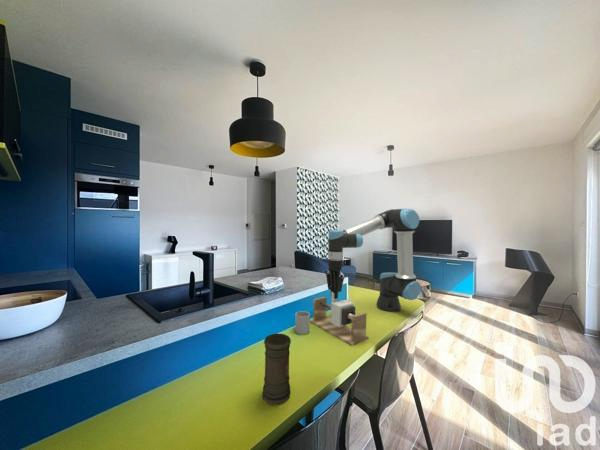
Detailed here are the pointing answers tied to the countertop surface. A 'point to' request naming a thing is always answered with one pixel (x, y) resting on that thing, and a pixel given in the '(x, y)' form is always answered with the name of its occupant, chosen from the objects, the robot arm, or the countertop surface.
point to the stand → (343, 333)
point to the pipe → (349, 315)
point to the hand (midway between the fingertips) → (334, 304)
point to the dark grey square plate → (344, 315)
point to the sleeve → (339, 311)
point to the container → (276, 369)
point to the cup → (302, 322)
